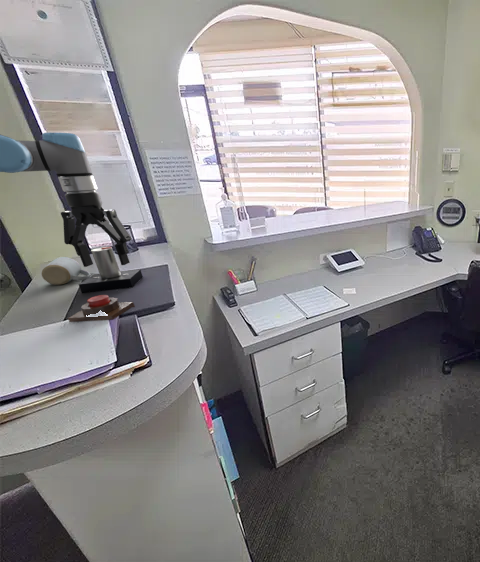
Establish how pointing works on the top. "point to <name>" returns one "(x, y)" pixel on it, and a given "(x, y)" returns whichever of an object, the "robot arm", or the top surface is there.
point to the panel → (111, 281)
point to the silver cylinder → (106, 262)
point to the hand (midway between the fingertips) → (107, 264)
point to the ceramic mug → (63, 271)
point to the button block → (111, 309)
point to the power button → (98, 300)
